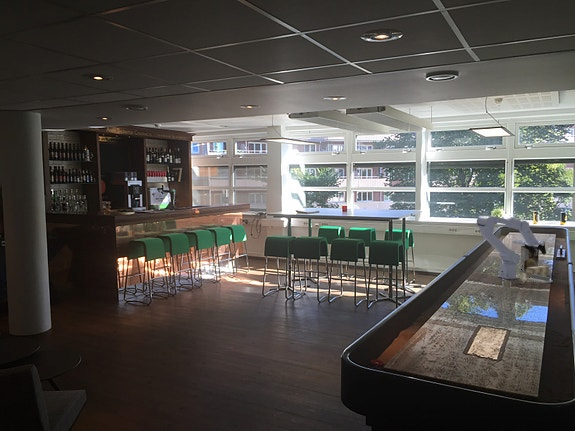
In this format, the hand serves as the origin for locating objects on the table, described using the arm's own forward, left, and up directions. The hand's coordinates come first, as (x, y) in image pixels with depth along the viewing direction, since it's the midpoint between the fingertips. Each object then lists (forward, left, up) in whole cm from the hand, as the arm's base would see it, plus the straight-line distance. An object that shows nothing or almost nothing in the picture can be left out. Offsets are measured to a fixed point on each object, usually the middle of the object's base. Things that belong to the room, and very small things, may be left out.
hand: (539, 253), depth 280 cm
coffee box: (+9, +17, -15) cm, 24 cm away
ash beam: (-1, 0, -15) cm, 15 cm away
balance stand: (-10, -11, -14) cm, 21 cm away
